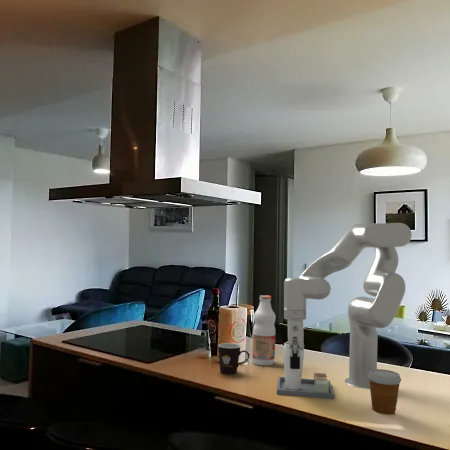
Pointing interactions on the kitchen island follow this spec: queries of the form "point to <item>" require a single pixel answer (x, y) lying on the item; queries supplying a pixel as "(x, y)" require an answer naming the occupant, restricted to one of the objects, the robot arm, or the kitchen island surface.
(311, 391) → the tray
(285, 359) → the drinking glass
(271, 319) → the fruit juice
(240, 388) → the kitchen island surface
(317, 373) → the walnut block
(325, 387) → the sage painted block
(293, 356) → the robot arm
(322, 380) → the beech block
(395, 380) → the disposable coffee cup
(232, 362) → the coffee mug
